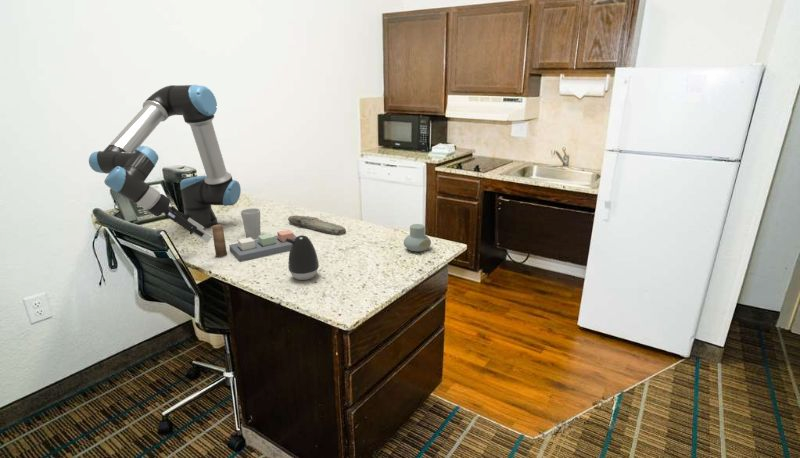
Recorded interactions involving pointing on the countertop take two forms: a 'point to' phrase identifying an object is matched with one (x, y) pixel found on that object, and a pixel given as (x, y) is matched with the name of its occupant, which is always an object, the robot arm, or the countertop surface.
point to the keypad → (260, 249)
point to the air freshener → (417, 239)
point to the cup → (251, 222)
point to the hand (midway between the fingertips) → (205, 234)
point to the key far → (285, 235)
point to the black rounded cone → (302, 258)
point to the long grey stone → (317, 224)
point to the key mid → (266, 239)
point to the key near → (246, 243)
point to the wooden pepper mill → (219, 240)
